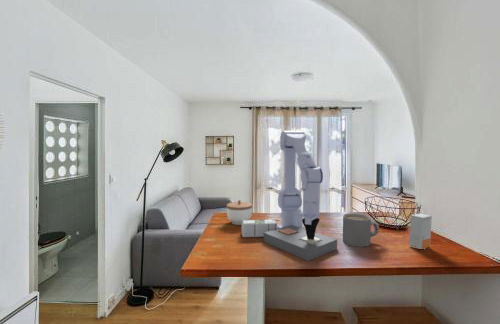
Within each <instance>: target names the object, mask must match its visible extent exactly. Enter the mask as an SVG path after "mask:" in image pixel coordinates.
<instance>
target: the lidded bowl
mask: <svg viewBox="0 0 500 324" xmlns="http://www.w3.org/2000/svg"><path fill="white" fill-rule="evenodd" d="M225 208H226V214H227V218H228V220H229V222H231V224H232V225H235V226H242V220H251V217H252V213H253V203H251V202H247V201H242V200H241V199H240V200H239V199H238V201H233V202H228V203H227V204H226V207H225Z"/></svg>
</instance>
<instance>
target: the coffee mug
mask: <svg viewBox="0 0 500 324" xmlns="http://www.w3.org/2000/svg"><path fill="white" fill-rule="evenodd" d="M372 226H374V230H373V231H372ZM379 230H380V226H379V223H377V221H376V220H372V218H371V216H369V215H366V214H363V213H362V214H361V213H352V212H351V213H350V212H349V213H344V214H343V216H342V242H343V243H344V244H345V243H346V245H348V246H350V247H355V246H358V248H366V247H365V246H367V247H369V245H370V246H371V238H373V237H375V236H377V235H378V233H379Z"/></svg>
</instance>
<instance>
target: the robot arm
mask: <svg viewBox="0 0 500 324" xmlns="http://www.w3.org/2000/svg"><path fill="white" fill-rule="evenodd" d="M306 136H307V135H306V132H305V131H304V130H282V131H281V133H280V136H279V137H280V138H279V139H280V140H279V141H280V142H279V143H280V144H279V146H280V150H282V151H283V154H284V157H283V158H284V159H283V160H284V161H283V162H284V186H283V188H281V189H280V190H279V191H278V195H277V196H278V197H277V205H278V207H279V208H280V209H281V225H277V227H278V228H282V227H286V226H290V225H294V226H297V227H300V228H303V229H306V234H307V239H311V240H314V237H315V232H316V230H317V227H318V224H319V223H320V218H319V217H321V214H320V199H321V198H320V196H321V195H320V192H321V188H320V187H321V185H320V184H322V183H323V180H324V173H323V170H322V167H320V166H318V165H316V163H315V161H314V158H313V156H312V155H311V153H310V152H308V151H307V147H306V144H305V143H306V139H307V137H306ZM296 155H297V158H296ZM296 161H297V165H298V167H299V170H300V181H301V188H302V193H301V190H299V189H298V188H297V187H296ZM301 208H302V209H301ZM316 233H317V232H316Z"/></svg>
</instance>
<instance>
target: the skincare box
mask: <svg viewBox="0 0 500 324" xmlns="http://www.w3.org/2000/svg"><path fill="white" fill-rule="evenodd" d="M409 226H410V228H409V246H412V247H415V248H419V249H424V248H426V247H429V246H430V247H431V237H432V234H431V233H432V215H429V214H426V213H415V214H411V215H410V225H409ZM424 250H425V249H424Z"/></svg>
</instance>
